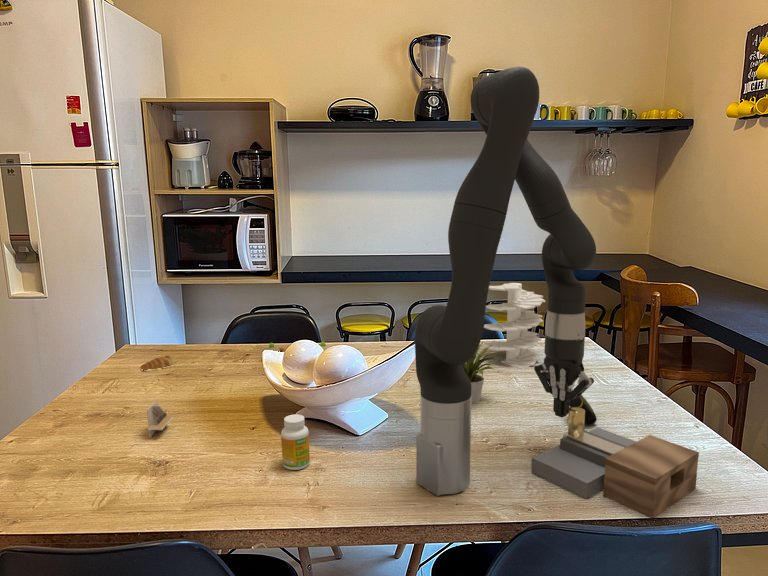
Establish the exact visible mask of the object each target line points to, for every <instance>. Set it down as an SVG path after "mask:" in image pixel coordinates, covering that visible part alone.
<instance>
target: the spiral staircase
mask: <svg viewBox="0 0 768 576" xmlns="http://www.w3.org/2000/svg"><path fill="white" fill-rule="evenodd" d="M522 287H523V284H522V283H520V282H508V283H503V284H501V285H489V289H488V291H489V290H490V291H491V290H492V291H499V292H500V291H501V292H502V291H503V292H507V302H502V303H498V304H493V303H492V304H489V303H488V305H487V304H486V308H487V309H488V310H494V311H500V312H502V311H506V313H507V315H506V321H505V322H499V323H495V322H493V323H486V324H483V329H485V330H489V331H496V332H503V333H504V332H506V341H501V340H500V341H495V340H492V341H489V342H488V341H484V342H483V344H482V345H481V346H482V347H483V348H486V347H488V346H491V345H492V346H491V347H490V348H488V349H487V350H492V351H496V352H502V351H505V354H506V355H505V359H504V360H501V361H500V363H502V364H505V365H508V366H511V367H513V368H516V369H518V368H519V369H518V370H522V369H523V368H524V369H526V367H527V368H530V367H531V366H532V367H535V366H534V365H536V364H537V361H541V359H540V358H539V357H538V356H537V355H538V352H537V351H533V350H530V349H532V348H533V347H537V345H538V343H539V342H541V341H542V338H540V337H539V336H538V335H539V333H537V332H533V331H529V329H532V328H536V327H537V326H539V325H541V324H540V323H544V320H543V319H542V318H543V315H542V314H538V313H535V311H534V310H530V309H536V307H540V306H541V305H542V303H546V300H545V299H544V295H543V294H542V295H540V294H536V293H535V291H528V290H526V289H523V288H522ZM529 366H530V367H529ZM524 369H523V370H524Z"/></svg>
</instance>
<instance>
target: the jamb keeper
mask: <svg viewBox="0 0 768 576" xmlns="http://www.w3.org/2000/svg"><path fill="white" fill-rule="evenodd" d="M699 455H700V452H699V451H697V450H694V449H691V448H688V447H685V446H683V445H680V444H677V443H673V442H671V441H668V440H666V439H662V438H661V437H660V438H659V437H657V436H653V435H651V434H648V435H647V436H646V437H643V438H642V439H640V440H638V441H636V442H635V443H634V444H632V445H630V446H628V447H626V448H624V449H622V450H620V451H618V452H616V453H614V454H612V455H611V456H609V457H607V458H605V477H604V488H603V490H602V491H603V492H602V496H605V497H606V498H609V499H611V500H613V501H615V502H617V503H619V504H622V505H624V506H626V507H628V508H631V509H633V510H635V511H636V512H638V513H640V514H643V515H644V516H647V517H650V518H652V519H654V518H656V517H657V516H658V515H659V514H661V513H663V512H664V511H665V510H667V509H668V508H669V507H671V506H672V505H674V504H675V503H677V502H679V501H680V500H681V499H682V498H684V497H685V496H687V495H688V494H689V493H691V492H693V491H694V490H695V489H697V488H696V487H697V478H698V477H697V476H698V465H699V464H698V463H699Z"/></svg>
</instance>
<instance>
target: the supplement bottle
mask: <svg viewBox="0 0 768 576" xmlns="http://www.w3.org/2000/svg"><path fill="white" fill-rule="evenodd" d="M305 421H306V420H305V416H304V415H302V414H297V413H295V414H290V415H287V416H285V417H284V418H283V425H284V427H283V428H282V430H281V432H280V434H281V437H280V438H281V457H282V458H281V460H282V461H281V462H282V466H283V467H284V468H285V469H287V470H290V471H291V470H292V471H297V470H302V469H305V468H307V467H308V466H309V464H310V462H311V460H310V459H311V457H310V455H311V454H310V436H309V435H310V431H309V429H308V427H307V425H305Z"/></svg>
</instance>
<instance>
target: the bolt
mask: <svg viewBox="0 0 768 576" xmlns="http://www.w3.org/2000/svg"><path fill="white" fill-rule="evenodd" d="M567 419H568V421H567V423H568V424H567V431H566V432H565V433H563V434H562V438H567V439H569V440H572V441H574V442H577V443H579V444H582V445H584V446H587V447H589V448H592V449H594V450H597V451H599V452H602V453H604V454H607V455H609V456H611V455H612V454H614V453H616V452H618V451H620V450H622V449H624V447H622V446H619V445H616V444H614V443H611V442H609V441H606V440H603V439H601V438H598V437H595V436H593V435H590V434H588V433H585V432H584V430H585V422H584V421H585V410H584V409H582V408H578V407H572V408H569V414H568V418H567Z"/></svg>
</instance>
